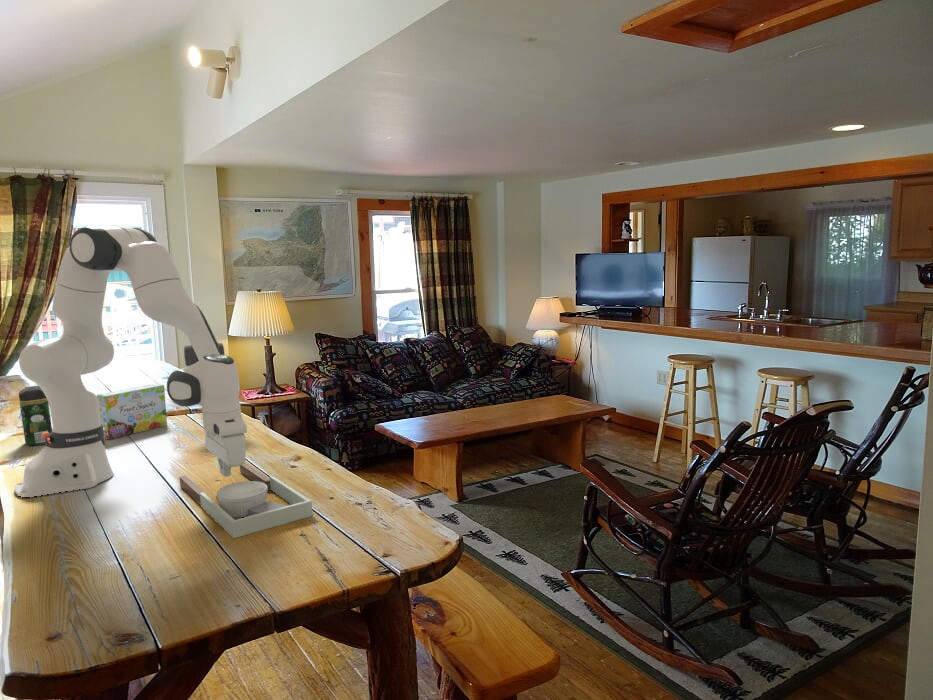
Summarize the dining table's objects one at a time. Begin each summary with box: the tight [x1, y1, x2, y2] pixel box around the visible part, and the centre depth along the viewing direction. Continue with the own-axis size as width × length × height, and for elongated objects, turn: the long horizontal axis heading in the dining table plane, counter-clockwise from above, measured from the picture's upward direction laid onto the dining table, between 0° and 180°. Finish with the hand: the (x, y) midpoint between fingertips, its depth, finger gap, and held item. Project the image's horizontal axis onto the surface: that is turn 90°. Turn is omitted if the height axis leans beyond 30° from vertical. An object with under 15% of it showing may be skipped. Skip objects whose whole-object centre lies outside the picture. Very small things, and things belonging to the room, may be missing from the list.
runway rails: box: [179, 462, 271, 505], centre depth 168 cm, size 17×19×2 cm
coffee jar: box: [18, 385, 53, 446], centre depth 216 cm, size 10×8×19 cm
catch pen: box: [200, 475, 313, 539], centre depth 151 cm, size 18×23×4 cm
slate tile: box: [248, 500, 287, 516], centre depth 148 cm, size 6×6×2 cm
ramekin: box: [216, 480, 269, 519], centre depth 152 cm, size 11×11×5 cm
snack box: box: [96, 383, 168, 440], centre depth 226 cm, size 21×6×15 cm, turn 148°
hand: (225, 474), depth 164 cm, fingers closed
